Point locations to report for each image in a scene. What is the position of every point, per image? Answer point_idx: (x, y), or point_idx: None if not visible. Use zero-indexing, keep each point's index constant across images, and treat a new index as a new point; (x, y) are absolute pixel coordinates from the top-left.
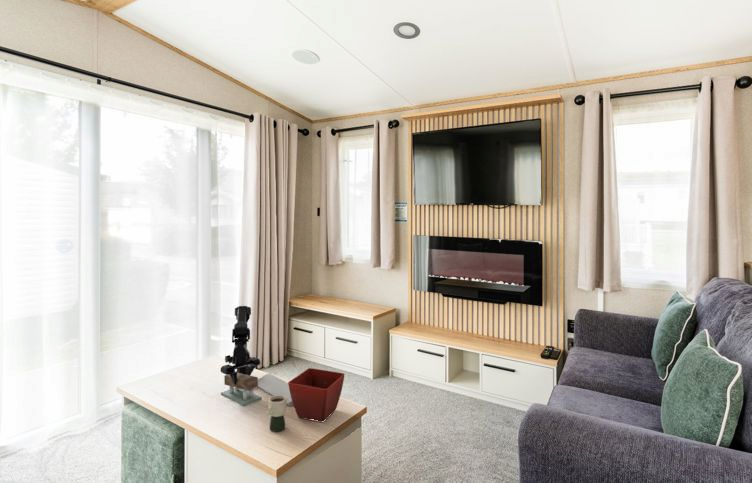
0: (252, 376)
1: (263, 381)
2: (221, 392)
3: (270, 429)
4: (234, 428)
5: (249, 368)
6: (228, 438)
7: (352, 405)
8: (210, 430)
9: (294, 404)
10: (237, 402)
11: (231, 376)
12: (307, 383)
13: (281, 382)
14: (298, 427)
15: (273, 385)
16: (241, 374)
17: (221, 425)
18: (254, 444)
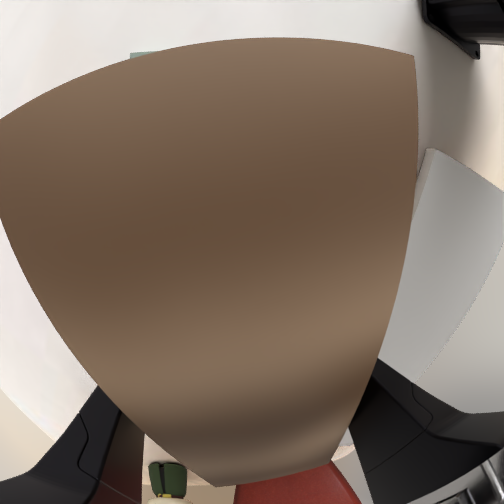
0: (328, 450)
1: (451, 237)
2: (134, 54)
3: (148, 467)
4: (68, 423)
5: (392, 493)
6: (50, 431)
7: (350, 450)
8: (4, 386)
9: (234, 498)
10: None
11: (72, 451)
12: (333, 495)
13: (427, 354)
14: None
15: (406, 336)
16: (338, 378)
17: (32, 393)
18: None
